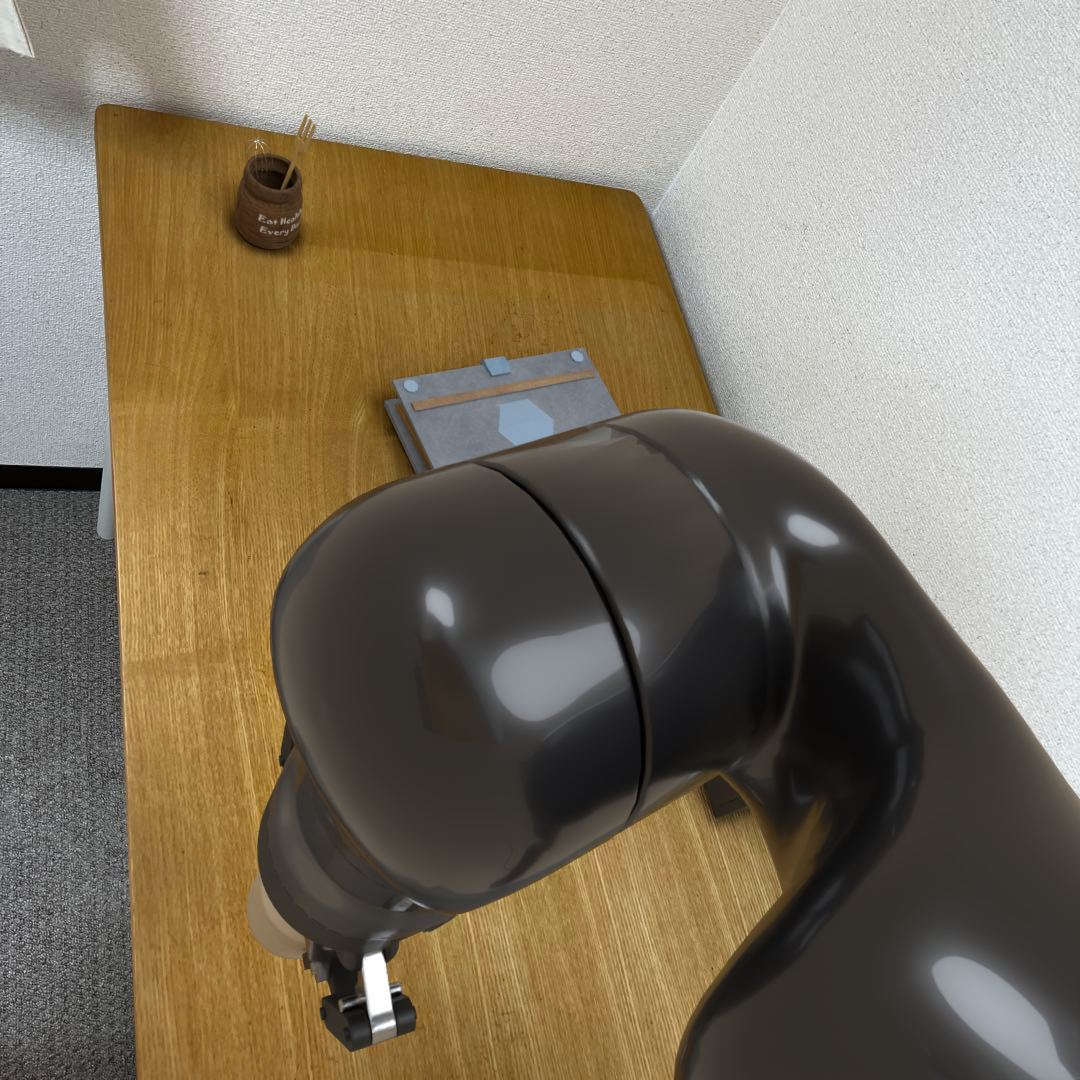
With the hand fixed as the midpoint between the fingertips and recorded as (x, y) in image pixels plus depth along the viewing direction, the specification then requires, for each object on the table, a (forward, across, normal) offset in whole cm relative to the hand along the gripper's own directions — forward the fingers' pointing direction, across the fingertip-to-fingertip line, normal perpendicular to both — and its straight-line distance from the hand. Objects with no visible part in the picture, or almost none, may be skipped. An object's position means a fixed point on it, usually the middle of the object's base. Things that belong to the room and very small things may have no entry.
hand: (314, 889), depth 44 cm
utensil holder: (+20, -63, +9) cm, 67 cm away
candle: (+6, 0, 0) cm, 6 cm away
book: (+20, -36, +28) cm, 50 cm away
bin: (+20, -5, +42) cm, 47 cm away
